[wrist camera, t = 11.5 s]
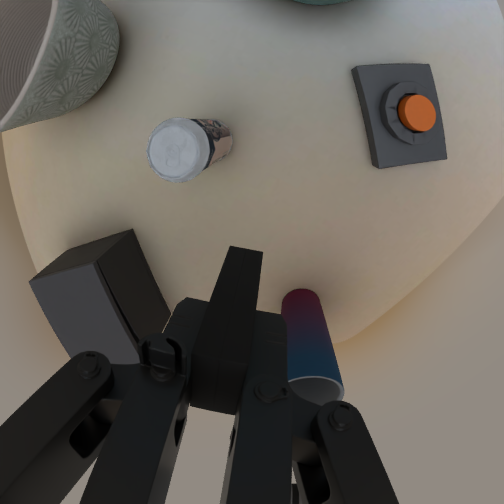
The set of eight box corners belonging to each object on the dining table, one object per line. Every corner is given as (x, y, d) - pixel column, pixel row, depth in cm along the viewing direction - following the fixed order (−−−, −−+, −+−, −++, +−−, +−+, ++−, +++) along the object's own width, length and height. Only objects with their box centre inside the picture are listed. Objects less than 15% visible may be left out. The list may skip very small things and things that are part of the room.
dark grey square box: (171, 314, 39) (150, 356, 31) (104, 321, 42) (79, 356, 34) (132, 228, 34) (96, 259, 26) (67, 250, 36) (32, 278, 28)
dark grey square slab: (150, 366, 31) (148, 371, 30) (79, 364, 33) (77, 367, 32) (96, 260, 26) (92, 263, 25) (31, 278, 28) (28, 281, 28)
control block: (438, 156, 26) (455, 162, 23) (372, 165, 28) (385, 172, 24) (420, 66, 22) (437, 61, 18) (350, 69, 24) (361, 62, 20)
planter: (120, 127, 28) (26, 143, 14) (33, 117, 27) (-48, 134, 14) (158, 0, 21) (89, -52, 7) (60, 12, 20) (-14, -5, 6)
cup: (277, 325, 38) (274, 417, 25) (272, 284, 35) (267, 378, 22) (326, 321, 37) (340, 412, 24) (326, 280, 34) (348, 372, 21)
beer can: (235, 120, 27) (208, 118, 16) (231, 163, 29) (204, 187, 19) (191, 118, 27) (142, 117, 17) (188, 160, 30) (140, 183, 19)
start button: (430, 129, 22) (438, 130, 20) (401, 131, 23) (408, 132, 21) (423, 95, 21) (432, 94, 19) (394, 96, 21) (401, 95, 20)
